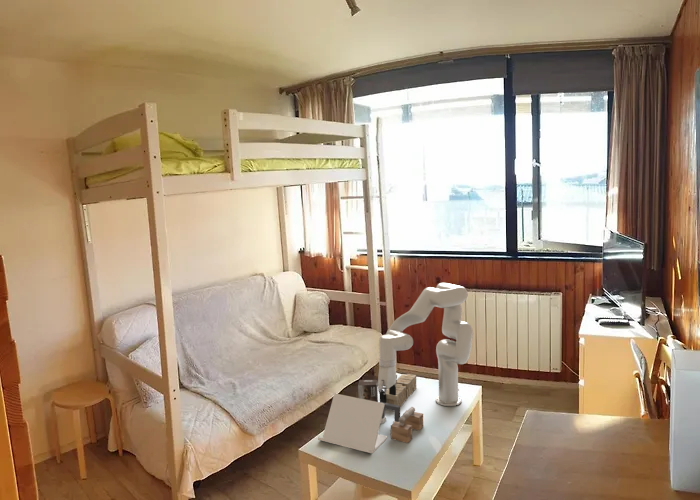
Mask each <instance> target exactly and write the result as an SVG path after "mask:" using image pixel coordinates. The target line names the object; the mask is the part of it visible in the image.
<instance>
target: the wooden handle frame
mask: <svg viewBox="0 0 700 500" xmlns="http://www.w3.org/2000/svg"><path fill="white" fill-rule="evenodd" d="M399 422H400V423H399ZM399 422H394V423H393V422H392V424H391V425H390V439H391V440H394V441H398V442H402V443H406V444H408V443H410V441H411V440H412V439H413V430H416V431H421V429H422V428H424V413H421V412H418V411H416V408H415V407H414V406H411V407H409V408H408V409H407V410H405V411H404V412H403V413H402V415H400V418H399Z"/></svg>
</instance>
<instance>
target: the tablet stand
mask: <svg viewBox="0 0 700 500" xmlns="http://www.w3.org/2000/svg"><path fill="white" fill-rule="evenodd" d="M383 410H384V404H383V403H380V401H378V402H375V401H370V400H365V399H360V398H359V397H355V396H349V395H345V394H339V393H334V394H333V397H332V401H331V404H330V409H329V412H328V417H327V419H326V424H325V426H324V431H323V435H322V437H318V438H317V439H318V441H321V442H326V443H330V444H334V445H337V446H340V447H341V446H342V447H344V448H347V449H348V448H349V449H353V450H357V451H360V452H365V453H369V454H373V453H374V452H376V451H377V449H378V448H380V446H382V444H384V442H385V441H386V440H387V439H388V436H387V435H383V434H381V433H380V434H379V431H380V427H381V424H382V423H381V419H382V414H383Z"/></svg>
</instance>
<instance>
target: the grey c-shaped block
mask: <svg viewBox="0 0 700 500" xmlns="http://www.w3.org/2000/svg"><path fill="white" fill-rule="evenodd" d="M379 402H380V401H379ZM380 403H383V402H380ZM383 404H384V410H383V414H382V419H381V423H380V424H385V422H387V416H386V413H385V410H389V411H392V412H393V411H394V413H393V414H394V416H393V417H394V420H393V421H392V424H393V423H394V422H399V418H400V417H401V407H400V406H399V405H394V404H389V403H383ZM399 423H400V422H399Z"/></svg>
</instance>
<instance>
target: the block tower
mask: <svg viewBox="0 0 700 500" xmlns="http://www.w3.org/2000/svg"><path fill="white" fill-rule="evenodd" d="M396 380H397V382H396V395H391V394H389V389H387V391H386V398H387V402H386V403H389V404H394V405H399V406H400V408H401V407H402V406H403V404H404V403H405V402H406V401H407V399H408V398H410V396H411V395H412V394H413V392H415V391H416V390H417V375H416V374H410V373H407V374H403V373H402V374H401V375H400V376H399V377H397V379H396Z"/></svg>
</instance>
